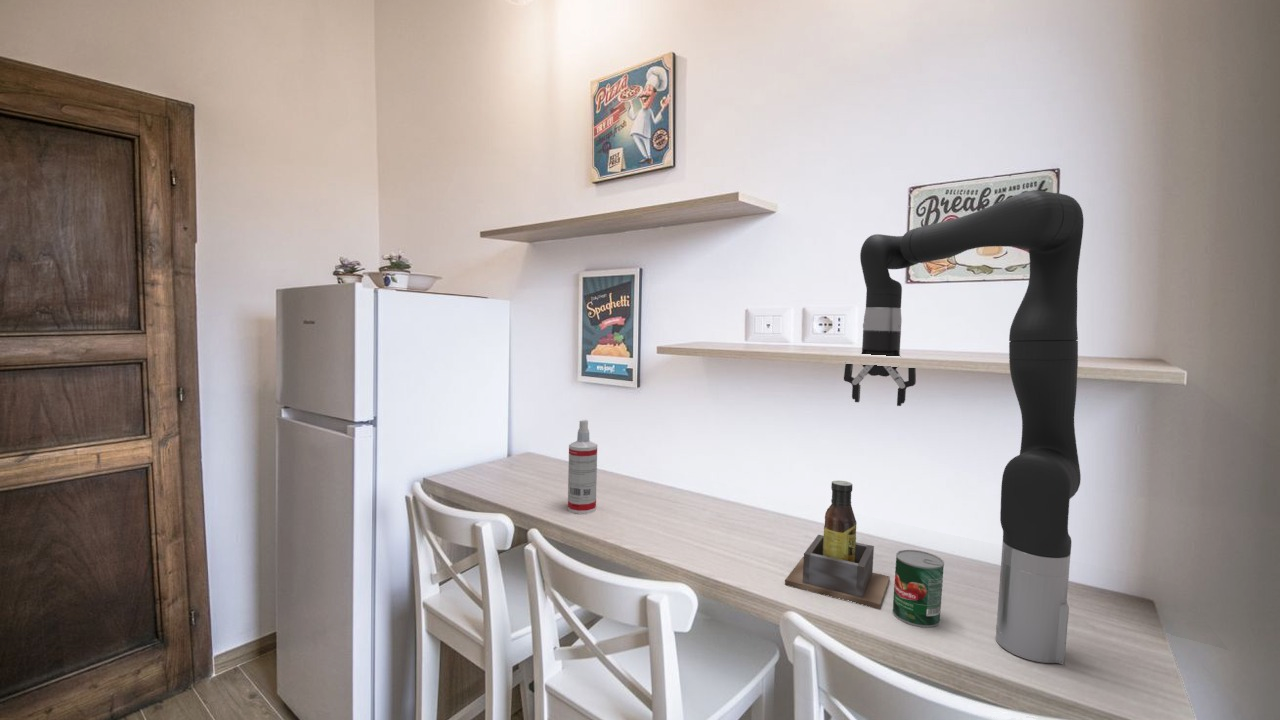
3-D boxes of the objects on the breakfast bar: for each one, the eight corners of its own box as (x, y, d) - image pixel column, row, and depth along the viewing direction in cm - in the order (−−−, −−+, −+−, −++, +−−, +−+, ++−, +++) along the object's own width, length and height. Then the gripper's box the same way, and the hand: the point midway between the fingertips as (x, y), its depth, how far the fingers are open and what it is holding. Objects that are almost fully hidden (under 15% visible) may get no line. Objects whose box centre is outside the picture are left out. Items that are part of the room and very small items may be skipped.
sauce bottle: (853, 587, 113) (858, 489, 112) (820, 581, 115) (825, 485, 114) (853, 574, 119) (858, 480, 118) (822, 568, 122) (827, 477, 120)
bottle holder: (889, 581, 119) (891, 548, 118) (880, 609, 107) (882, 573, 106) (802, 560, 128) (804, 530, 127) (784, 584, 116) (786, 551, 115)
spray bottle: (592, 514, 154) (594, 423, 153) (565, 513, 155) (567, 422, 153) (597, 505, 162) (599, 418, 160) (571, 504, 163) (573, 417, 161)
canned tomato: (886, 617, 104) (890, 558, 103) (899, 601, 110) (902, 545, 110) (934, 632, 99) (938, 571, 98) (944, 615, 105) (948, 557, 104)
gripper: (919, 330, 123) (915, 405, 124) (850, 328, 130) (846, 399, 131) (916, 330, 116) (912, 409, 117) (844, 328, 123) (840, 402, 125)
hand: (877, 403), depth 124 cm, fingers open, 8 cm apart
